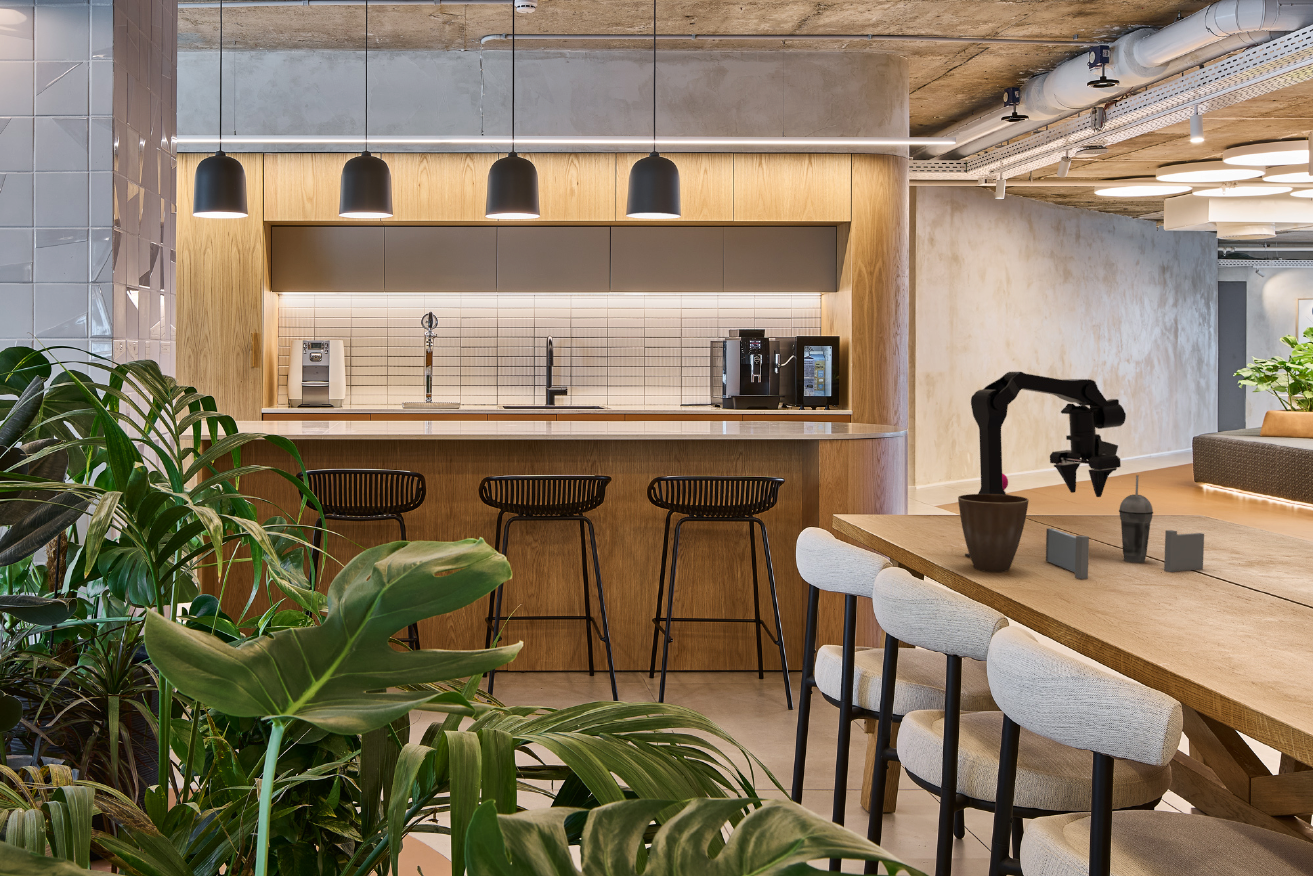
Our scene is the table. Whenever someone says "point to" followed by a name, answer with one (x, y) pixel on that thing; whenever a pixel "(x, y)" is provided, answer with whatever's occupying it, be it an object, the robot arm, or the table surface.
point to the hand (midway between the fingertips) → (1085, 494)
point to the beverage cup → (1135, 526)
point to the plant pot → (992, 528)
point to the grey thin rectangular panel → (1061, 549)
